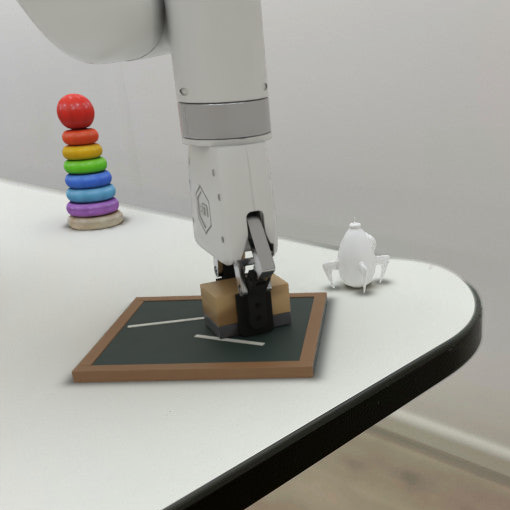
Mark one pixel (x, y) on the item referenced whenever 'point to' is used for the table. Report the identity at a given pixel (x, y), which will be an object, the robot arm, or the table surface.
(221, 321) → the eraser
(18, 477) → the table surface
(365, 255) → the rocket toy
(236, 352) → the chalkboard
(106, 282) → the table surface
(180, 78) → the robot arm
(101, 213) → the stacking toy
